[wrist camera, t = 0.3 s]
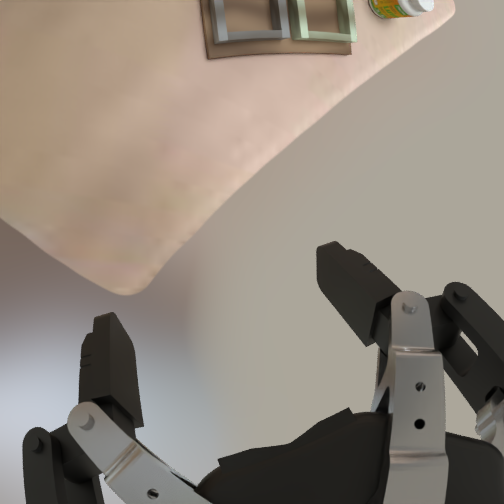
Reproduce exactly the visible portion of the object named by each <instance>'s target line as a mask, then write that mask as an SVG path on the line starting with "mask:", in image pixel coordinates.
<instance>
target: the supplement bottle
mask: <svg viewBox="0 0 504 504" xmlns="http://www.w3.org/2000/svg"><path fill="white" fill-rule="evenodd" d="M369 4H370V7H371V9H372V10H373V12H374V13H375V14H376V15H378V16H379V17H381V18H399V17H414V16H419V15H421V14H422V13H423V12H428V11H432V10H433V8H434V1H433V0H369Z"/></svg>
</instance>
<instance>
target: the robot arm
mask: <svg viewBox="0 0 504 504" xmlns="http://www.w3.org/2000/svg"><path fill="white" fill-rule="evenodd" d="M316 253H317V254H316V256H317V282H318V285H319V287H320V289H321V291H322V292H323V294H324V295H325V296H326V297H327V298H328V300H329V301H330V302H331V303H332V305H333V306H334V307H335V308H336V310H337V311H338V312H339V314H340V315H341V316H342V317H343V319H344V320H345V321H346V322H347V324H349V326H350V327H351V329H352V330H353V331H354V332H355V333H356V335H357V336H358V337H359V339H360V340H361V341H362V342H363V344H364V345H365V346H366V347H367V346H369V345H371V344H373V343H375V342H376V343H377V345H378V346H379V348H378V358H377V359H378V360H377V373H376V385H375V393H374V398H373V402H372V406H371V411H370V412H361V413H355V414H353V413H352V412H351V410H350V409H349V407H348V408H347V409H344V410H343V411H340V412H339V413H336V414H335V415H332V416H330V417H328V418H326V419H324V420H322V421H320V422H318V423H317V424H316V425H314V426H313V427H312V428H310V429H309V430H308V431H306V432H305V433H304V434H302V435H301V436H299V437H298V438H297V439H295V440H294V441H293V442H291V443H289V444H285V445H278V446H271V447H262V448H254V449H249V450H246V451H242V452H239V453H236V454H233V455H230V456H226V457H223V458H219V459H218V462H219V465H220V466H219V467H217V468H216V469H215V470H213V471H212V472H210V473H209V474H208V475H207V476H205V477H204V478H203V479H202V481H201V482H200V483H199V484H198V486H197V485H195V484H194V483H193V482H191V481H190V480H189V479H187V478H185V477H184V476H183V475H181V474H180V473H178V472H177V471H175V470H174V469H172V468H171V467H170V466H169V465H167V464H166V463H165V462H164V461H163V460H161V459H160V458H159V457H158V456H156V455H155V454H154V453H153V452H152V451H150V450H149V449H148V448H147V447H146V446H145V445H143V444H142V443H141V442H140V441H139V440H138V439H137V438H136V435H135V428H139V427H144V423H143V417H142V410H141V403H140V395H139V387H138V378H137V368H136V357H135V350H134V346H133V343H132V341H131V339H130V337H129V336H128V334H127V332H126V331H125V329H124V328H123V326H122V324H121V323H120V321H119V319H118V318H117V316H116V314H115V313H114V312H110V313H107V314H104V315H101V316H97V317H95V318H94V324H93V332H92V333H89V334H87V335H86V337H85V339H84V342H83V344H82V347H81V360H80V367H81V369H80V375H79V402H78V405H76V406H75V407H74V408H73V409H72V411H71V412H70V414H69V416H68V421H67V424H65V425H63V426H62V427H60V428H58V429H56V430H54V431H52V432H50V433H49V432H48V431H46V430H45V429H43V428H41V427H35V428H32V429H31V430H29V431H28V433H27V434H26V435H25V438H24V440H23V474H24V488H25V497H26V504H104V500H103V495H102V490H101V486H100V481H99V474H101V473H104V475H105V478H104V480H105V482H106V484H107V485H108V486H109V487H110V488H111V489H112V490H113V491H114V492H115V493H116V494H117V495H118V496H119V497H120V498H121V499H122V500H123V501H124V502H125V503H126V504H504V321H503V320H502V319H501V317H500V316H499V315H498V314H497V313H496V312H495V311H494V310H493V309H492V308H491V307H490V306H489V305H488V304H487V303H486V302H485V301H484V300H483V299H482V298H481V297H480V296H478V294H477V293H475V292H474V291H473V290H472V289H471V288H470V287H469V286H467V285H466V284H463V283H460V282H452V283H449V284H447V286H446V287H445V289H444V291H443V294H442V295H439V296H434V297H429V298H424V297H423V296H422V295H420V294H419V293H416V292H413V291H401V290H400V289H399V288H398V287H397V286H396V285H395V284H394V283H393V282H392V281H391V280H390V279H389V278H388V277H387V276H385V275H384V274H383V273H382V272H381V271H380V270H379V269H377V267H376V266H375V265H373V264H372V263H370V261H369V260H368V259H367V258H366V257H365V256H364V255H362V254H361V253H358V252H356V251H354V250H351V249H349V250H346V249H345V248H344V247H343V246H342V245H340V244H339V243H338V242H336V241H333V242H330V243H327V244H324V245H322V246H319V247H318V248H317V251H316ZM462 331H463V332H464V334H465V335H466V336H467V337H468V338H469V339H470V340H471V342H472V343H473V344H474V345H475V346H476V348H477V350H478V356H477V354H476V353H475V352H474V351H473V350H472V349H471V347H470V346H469V345H468V344H467V343H466V342H465V340H464V339H463V338H462V337H461V336H460V334H461V332H462ZM443 369H444V370H445V372H446V373H447V374H448V375H449V377H450V378H451V380H452V381H453V382H454V384H455V385H456V386H457V388H458V389H459V390H460V392H461V393H462V394H463V396H464V397H465V398H466V400H467V401H468V403H469V404H470V406H471V407H472V408H473V410H474V411H475V413H476V414H477V418H476V423H477V425H476V427H475V431H476V433H477V434H478V435H481V440H478V439H474V438H470V437H465V436H461V435H457V434H453V433H449V432H446V431H445V386H444V370H443Z"/></svg>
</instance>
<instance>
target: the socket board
mask: <svg viewBox="0 0 504 504" xmlns="http://www.w3.org/2000/svg"><path fill="white" fill-rule="evenodd" d="M200 3H201V11H202V19H203V27H204V34H205V42H206V49H207V57H208V59H214V58H222V57H231V56H241V55H254V54H272V53H325V54H343V55H352V54H351V43H352V42H357V33H356V24H355V15H354V8H353V0H200Z"/></svg>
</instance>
